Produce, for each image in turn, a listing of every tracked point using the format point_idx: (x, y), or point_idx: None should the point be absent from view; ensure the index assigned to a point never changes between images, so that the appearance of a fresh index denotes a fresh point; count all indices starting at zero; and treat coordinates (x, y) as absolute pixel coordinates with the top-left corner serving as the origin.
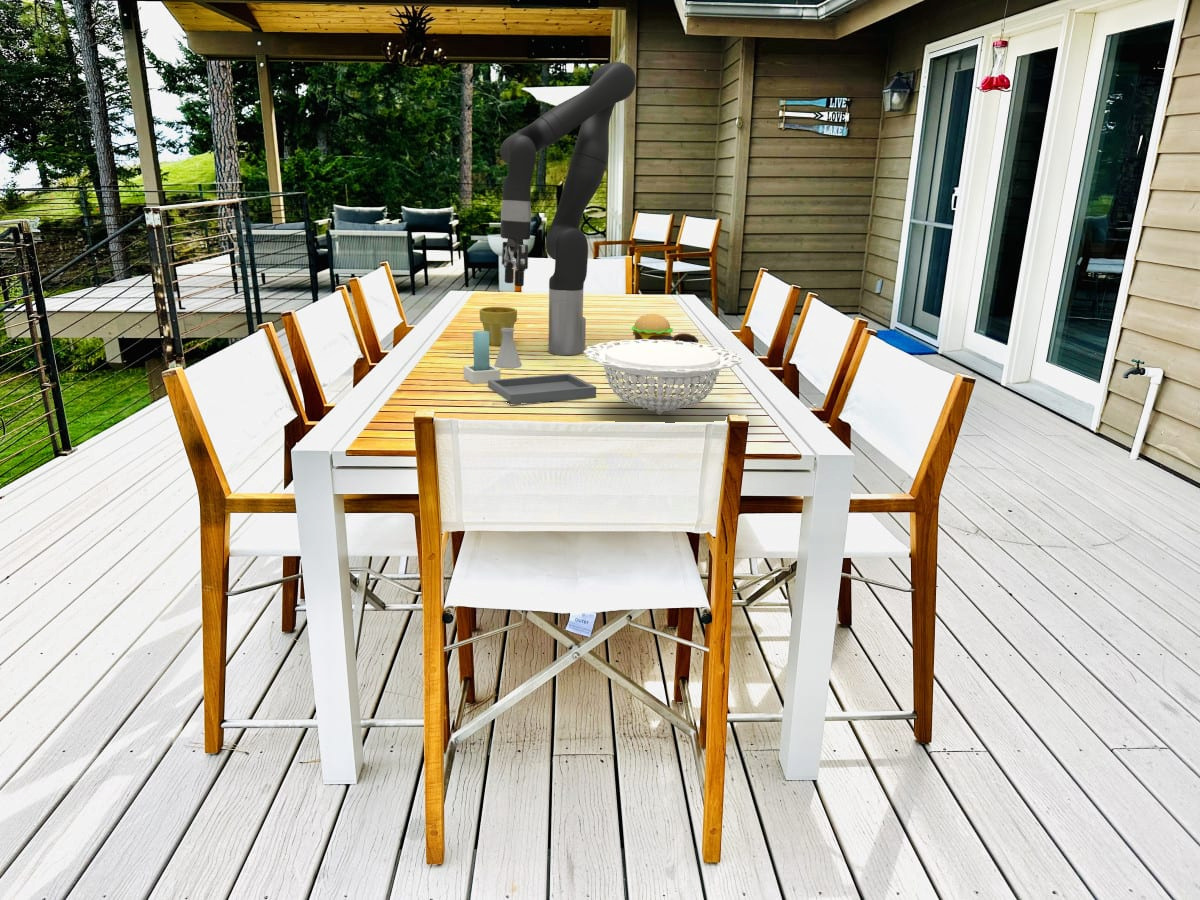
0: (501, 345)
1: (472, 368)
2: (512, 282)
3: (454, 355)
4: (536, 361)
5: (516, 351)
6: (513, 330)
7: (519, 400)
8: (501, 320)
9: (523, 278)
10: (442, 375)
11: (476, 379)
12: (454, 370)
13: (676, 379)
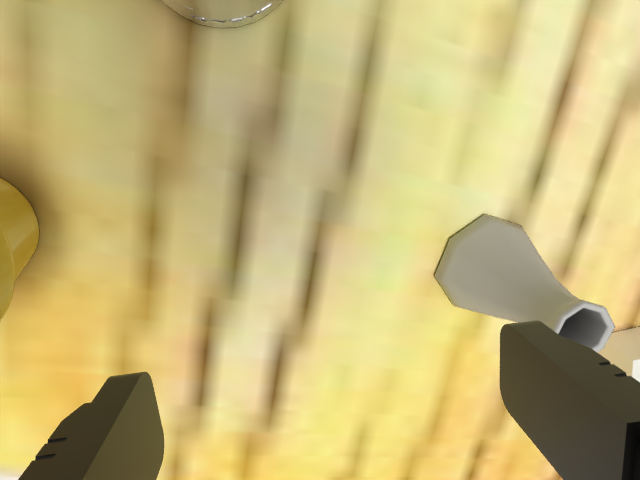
0: None
1: None
2: (147, 378)
3: (234, 412)
4: (392, 135)
5: (529, 256)
6: (604, 308)
7: None
8: (3, 265)
9: (587, 360)
10: (512, 453)
11: None
12: (461, 422)
13: None
